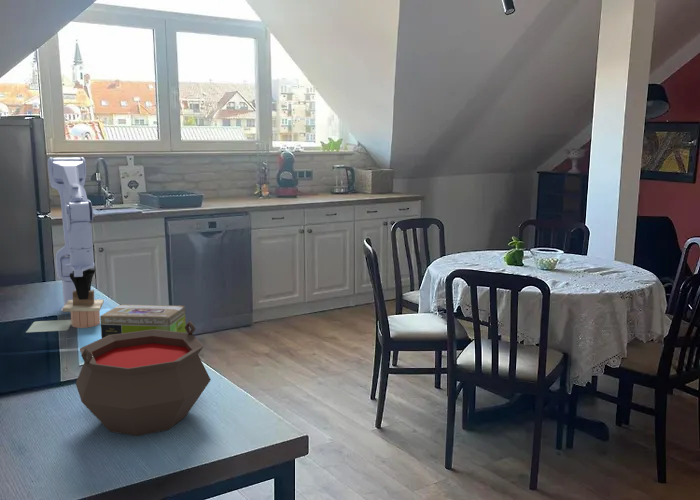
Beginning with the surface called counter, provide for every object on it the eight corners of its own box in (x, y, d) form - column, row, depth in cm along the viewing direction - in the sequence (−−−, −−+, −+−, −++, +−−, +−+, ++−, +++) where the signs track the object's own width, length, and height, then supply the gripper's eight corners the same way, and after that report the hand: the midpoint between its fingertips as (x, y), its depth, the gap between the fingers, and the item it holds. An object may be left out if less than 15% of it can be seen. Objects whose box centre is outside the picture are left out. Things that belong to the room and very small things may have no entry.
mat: (34, 323, 179) (34, 321, 179) (74, 321, 181) (73, 319, 181) (25, 334, 170) (25, 332, 169) (67, 332, 172) (67, 330, 172)
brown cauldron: (162, 383, 138) (159, 307, 135) (239, 415, 123) (237, 331, 120) (49, 421, 120) (43, 334, 117) (123, 464, 105) (118, 366, 102)
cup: (74, 323, 180) (73, 305, 179) (101, 321, 182) (100, 303, 181) (69, 330, 173) (68, 312, 172) (98, 328, 175) (97, 310, 174)
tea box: (188, 369, 147) (186, 304, 144) (172, 386, 137) (169, 317, 134) (123, 366, 148) (120, 302, 145) (102, 383, 138) (98, 314, 136)
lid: (68, 302, 180) (68, 287, 179) (103, 302, 182) (103, 287, 181) (62, 311, 171) (62, 295, 170) (99, 311, 173) (99, 295, 173)
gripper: (69, 243, 180) (72, 291, 182) (59, 252, 166) (63, 305, 168) (97, 242, 181) (99, 290, 184) (89, 252, 167) (92, 304, 170)
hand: (84, 297), depth 176 cm, fingers closed on lid, 2 cm apart
